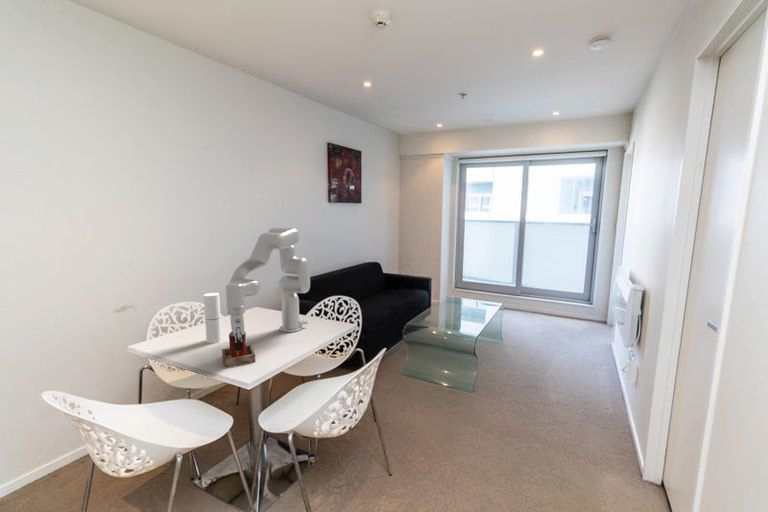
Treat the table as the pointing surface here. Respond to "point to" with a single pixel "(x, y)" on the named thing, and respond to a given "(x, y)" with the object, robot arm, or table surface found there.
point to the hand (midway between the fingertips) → (238, 346)
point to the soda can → (232, 346)
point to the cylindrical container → (212, 317)
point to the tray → (238, 360)
